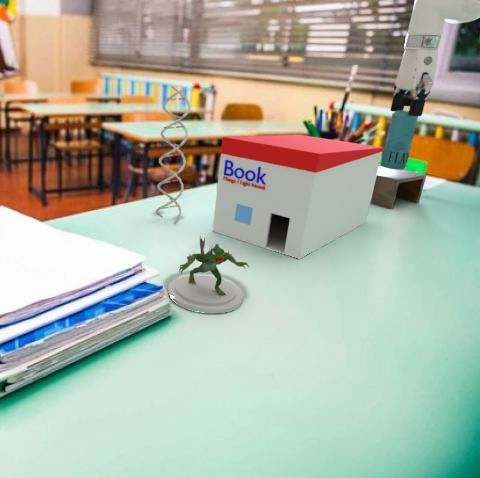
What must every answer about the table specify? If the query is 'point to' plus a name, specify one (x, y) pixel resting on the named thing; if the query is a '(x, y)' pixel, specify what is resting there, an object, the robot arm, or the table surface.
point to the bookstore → (293, 190)
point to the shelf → (396, 187)
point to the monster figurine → (207, 284)
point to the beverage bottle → (399, 138)
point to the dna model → (174, 154)
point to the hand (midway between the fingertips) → (405, 113)
